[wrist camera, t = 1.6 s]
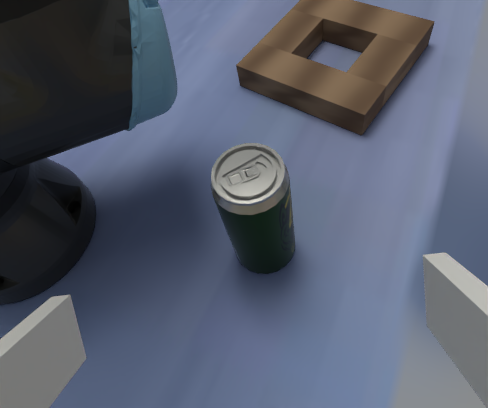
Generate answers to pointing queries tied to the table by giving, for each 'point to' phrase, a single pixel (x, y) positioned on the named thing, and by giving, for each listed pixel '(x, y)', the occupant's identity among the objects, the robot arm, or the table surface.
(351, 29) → the socket block
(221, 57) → the table surface
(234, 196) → the beer can
